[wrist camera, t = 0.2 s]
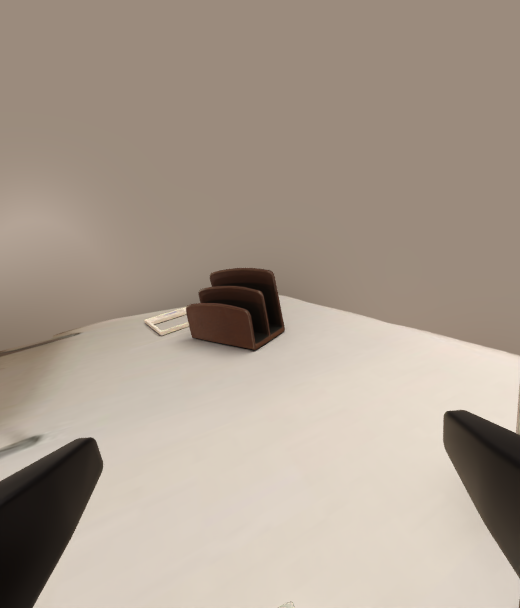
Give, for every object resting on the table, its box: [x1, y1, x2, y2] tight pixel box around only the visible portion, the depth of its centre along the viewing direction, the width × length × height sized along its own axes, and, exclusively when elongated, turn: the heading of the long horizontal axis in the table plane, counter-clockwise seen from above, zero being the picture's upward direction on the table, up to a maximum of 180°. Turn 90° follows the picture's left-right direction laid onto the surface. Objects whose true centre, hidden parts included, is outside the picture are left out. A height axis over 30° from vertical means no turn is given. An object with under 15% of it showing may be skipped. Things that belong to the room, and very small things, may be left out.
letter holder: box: [186, 268, 285, 350], centre depth 60 cm, size 10×20×14 cm, turn 50°
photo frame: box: [144, 307, 189, 336], centre depth 81 cm, size 15×1×18 cm
